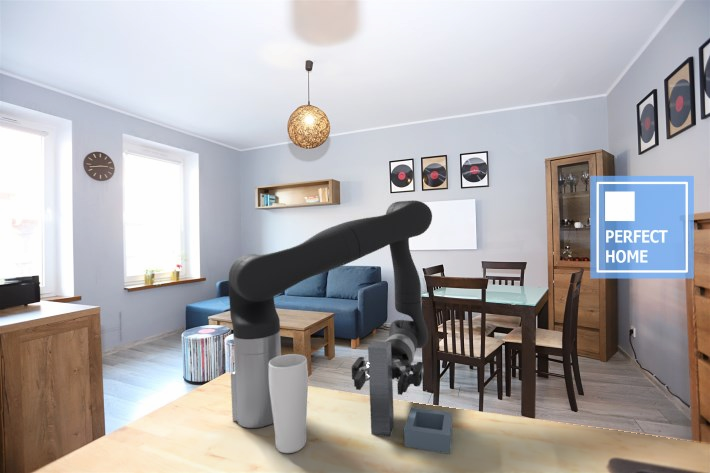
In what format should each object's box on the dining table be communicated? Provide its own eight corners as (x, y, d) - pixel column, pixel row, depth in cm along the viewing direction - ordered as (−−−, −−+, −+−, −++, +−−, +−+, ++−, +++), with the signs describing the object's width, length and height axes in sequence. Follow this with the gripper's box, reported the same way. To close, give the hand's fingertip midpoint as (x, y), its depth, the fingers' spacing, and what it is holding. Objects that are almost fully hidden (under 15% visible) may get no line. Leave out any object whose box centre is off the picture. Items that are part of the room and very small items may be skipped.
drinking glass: (302, 459, 55) (299, 368, 55) (264, 456, 57) (260, 367, 57) (315, 435, 62) (312, 354, 62) (281, 432, 63) (277, 352, 63)
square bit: (371, 434, 62) (368, 347, 62) (376, 423, 65) (373, 341, 65) (390, 437, 61) (386, 348, 61) (394, 426, 64) (390, 342, 64)
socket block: (404, 446, 58) (404, 429, 58) (411, 422, 65) (410, 407, 65) (450, 453, 56) (449, 435, 56) (452, 428, 63) (451, 412, 63)
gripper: (365, 336, 79) (340, 363, 63) (427, 340, 74) (417, 369, 59) (366, 368, 79) (341, 403, 63) (429, 374, 74) (419, 413, 59)
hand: (378, 387), depth 61 cm, fingers open, 7 cm apart
